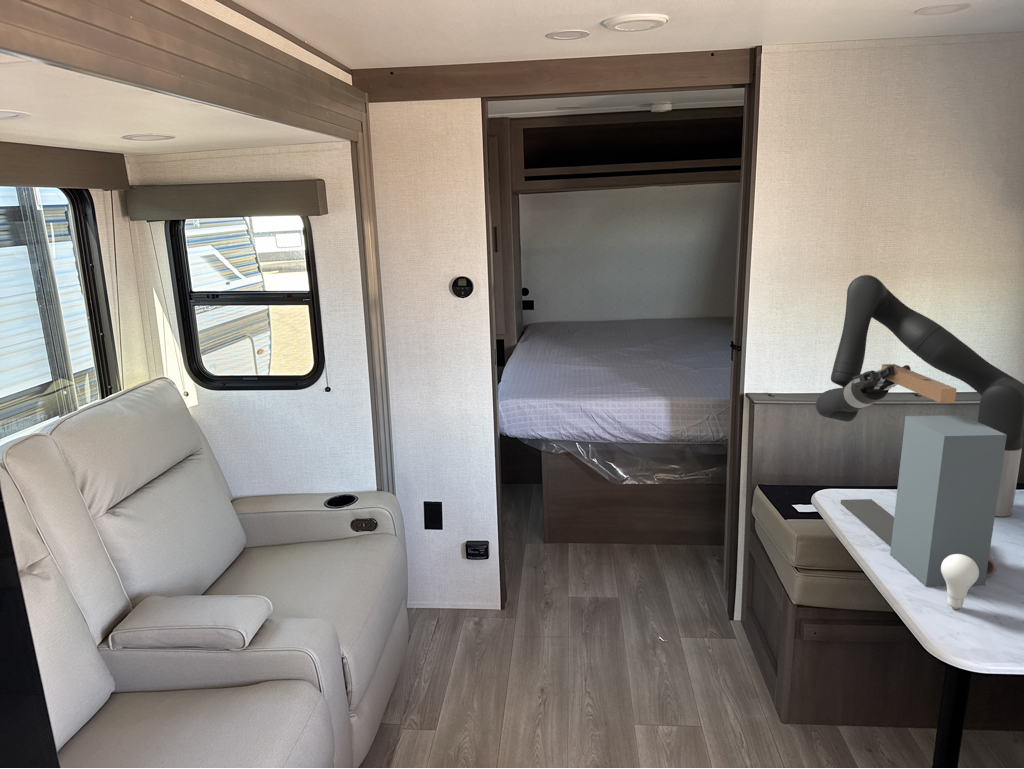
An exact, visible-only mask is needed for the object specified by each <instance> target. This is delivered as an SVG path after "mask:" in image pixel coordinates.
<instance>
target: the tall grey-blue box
mask: <svg viewBox="0 0 1024 769" xmlns="http://www.w3.org/2000/svg"><path fill="white" fill-rule="evenodd" d="M904 418H905V419H904V427H903V436H902V445H901V453H900V454H901V455H900V462H899V470H898V472H899V473H898V479H897V480H898V482H897V489H896V499H895V506H894V508H895V509H894V515H893V517H894V524H893V533H892V542H891V547H890V551H889V555H890V556H891V557H892V559H894V560H895V559H896V560H897V561H896V562H897V563H899V564H900V565H901V566H902V567H903V568H904V569H905V568H906V569H907V570H906V569H905V570H906V571H907V572H908V573H910V575H912V576H913V577H916V578H915V579H916V580H918V582H920V583H921V584H922V585H924V587H926V588H927V587H928V588H929V587H931V588H932V587H934V588H935V587H947V585H946V581H945V579H944V577H943V575H942V572H941V564H942V562H943V560H944V559H945V558H946V557H948V556H950V555H953V554H962V555H965V556H968V557H970V558H971V559H972V560H973V561H974V562H975V563H976V565H977V566H978V569H979V576H978V579H977V580H976V582H975V583H974V584H973V585H972V586H971V587H973V586H974V587H977V586H979V587H981V586H983V587H984V586H985V585H986V580H987V578H986V574H987V567H988V560H989V553H991V546H992V540H993V539H992V538H993V532H994V524H995V518H996V516H995V512H996V505H997V499H998V492H999V485H1000V478H1001V471H1002V464H1003V458H1004V451H1005V444H1006V437H1007V435H1006V434H1004V433H1002V432H999V431H997V430H995V429H993V428H990V427H988V426H986V425H984V424H981V423H979V422H978V420H977V421H976V420H975V419H972V418H970V417H968V416H965V415H963V414H955V415H954V414H951V415H950V414H949V415H948V414H947V415H946V414H945V415H944V414H942V415H906V416H904Z"/></svg>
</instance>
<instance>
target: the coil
mask: <svg viewBox="0 0 1024 769" xmlns="http://www.w3.org/2000/svg"><path fill="white" fill-rule="evenodd" d="M997 570H998V567H997V563H996V562H995V559H994V558H993V555H992V553H991V552H990V553H989V560H988V567H987V574H986V579H987V578H988V579H989V578H991V577H992V576H994V575H995V574H996V572H997Z"/></svg>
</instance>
